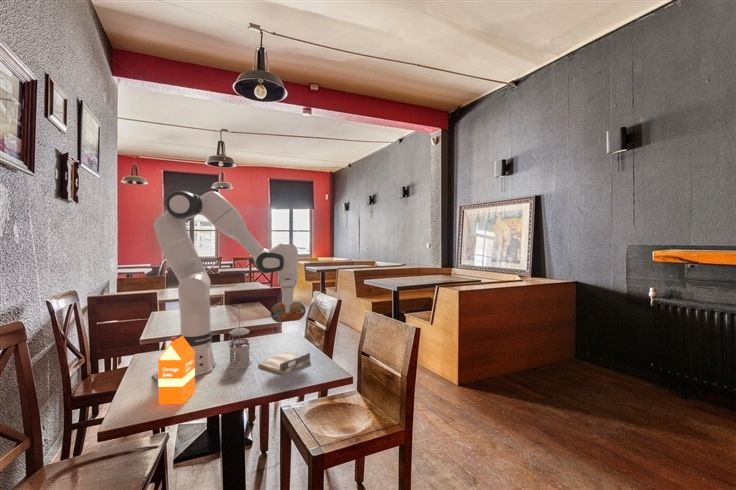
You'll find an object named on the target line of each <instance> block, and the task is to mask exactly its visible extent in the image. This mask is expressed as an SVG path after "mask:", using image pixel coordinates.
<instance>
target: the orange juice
mask: <svg viewBox="0 0 736 490" xmlns="http://www.w3.org/2000/svg"><path fill="white" fill-rule="evenodd" d="M177 338H178V337H177ZM157 367H158V368H157V369H158V370H157V371H158V380H157V383H158V384H157V385H158V405H159V404H183V403H184V402H185V401H186V400H187V399H188V398H189V397H190V396H191V395H192V396H193V395H194V394H195V392H196V384H195V383H196V380H195V377H196V376H195V367H194V351H193V349H192V348H191V347H190V345H189V344H188V342H187V341H186V340H185V338H184V337H183V336H181V337H180V338H178V339H176V340H175V341H173V342H172V341H171V342H170V343H169V344H168V346H167V347H166V348H165V350H164V351H163V353H162V354H161V355H160V356H159V359H158V360H157ZM192 396H191V397H192ZM191 397H190V398H191ZM190 398H189V399H190ZM189 399H188V400H189ZM188 400H187V401H188ZM187 401H186V402H187ZM186 402H185V403H186ZM185 403H184V404H185ZM184 404H183V405H184Z"/></svg>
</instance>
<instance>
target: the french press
mask: <svg viewBox="0 0 736 490" xmlns="http://www.w3.org/2000/svg"><path fill="white" fill-rule="evenodd" d="M242 308H243V307H242V305H240V304H239V305H237V306H236V309H238V327H236V328H233V329H232V330H230V331H229V332H228V334H229V336H228V340H230V338H231V336H232V338H231V341H230V342H228V346H229V347H228V348H229V362H228V364H227V368H230V369H237V370H238V369H243V368H247V367H249V366H251V365H252V364H253V362H252V360H250V343H249V339H247V338H241V336H245V335H248V334H249V333H250V329H247V328H245V327H241V325H240V324H241V321H240V319H241V317H240V316H241V315H240V311H241V310H240V309H242ZM235 337H238V338H236V339H234V338H235Z"/></svg>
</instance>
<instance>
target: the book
mask: <svg viewBox="0 0 736 490" xmlns="http://www.w3.org/2000/svg"><path fill="white" fill-rule="evenodd" d="M298 356H300V355H299V354H295V353H292V352H289V351H287V352H283V353H281V354H279V355H276V356H274V357H272V358H268V359H266V360H264V361H261V362H259V363H258V364H257V365H258V368H261V369H263V370H267V371H269V372H273V373H276V374H279V375H285V374H287V373H290V372H292V371H294V370H296V369H298V368H300V367H303V366H304V365H306V364H307V365H308V363H311V358H310V359H307V360H305V361H303V362H301V363H298V364H296V365H294V366H292V367H289V368H287V369H285V370H283V371H282V370H280V364H281V363H284V362H286V361H288V360H291V359H293V358H296V357H298Z"/></svg>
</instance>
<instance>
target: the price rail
mask: <svg viewBox="0 0 736 490" xmlns="http://www.w3.org/2000/svg"><path fill="white" fill-rule="evenodd" d="M307 359H310V360H311V352H305V353H303V354H300V355H299V356H298V357H296V358H293V359H291V360H288V361H286V362H284V363H281V364H280V370H282V371H283V370H285V369H287V368H289V367H292V366H294V365H296V364H298V363H301V362H303V361H305V360H307Z"/></svg>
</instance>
